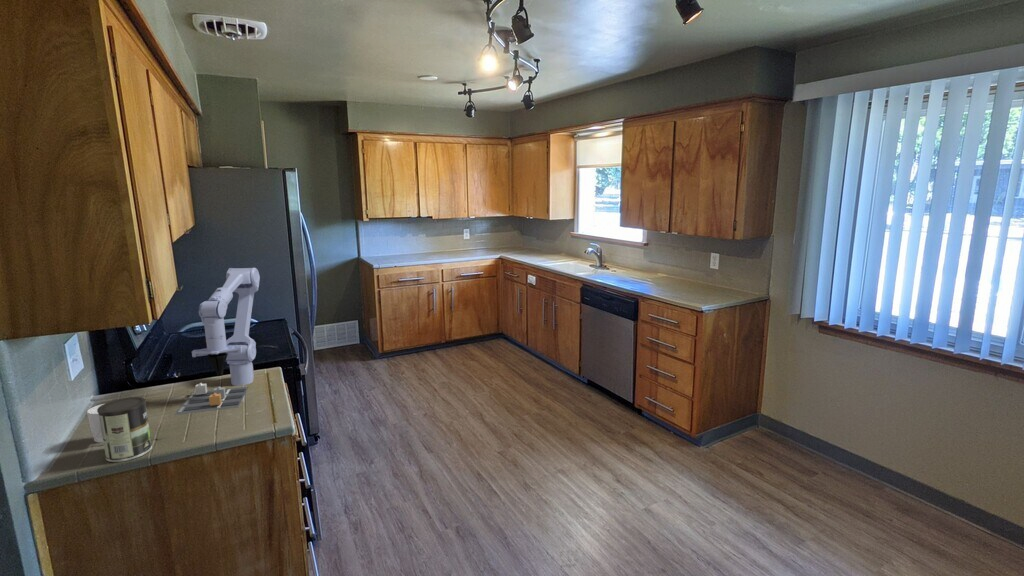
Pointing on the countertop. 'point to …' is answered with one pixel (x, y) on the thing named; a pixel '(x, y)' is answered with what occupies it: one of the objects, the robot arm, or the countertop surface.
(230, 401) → the control board
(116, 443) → the coffee can
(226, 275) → the robot arm
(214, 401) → the orange slider knob
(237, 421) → the countertop surface
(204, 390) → the cube with tab
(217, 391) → the cube with peg
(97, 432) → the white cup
